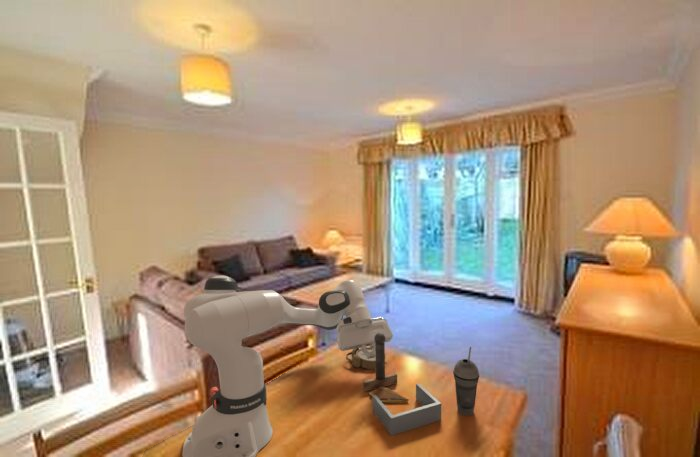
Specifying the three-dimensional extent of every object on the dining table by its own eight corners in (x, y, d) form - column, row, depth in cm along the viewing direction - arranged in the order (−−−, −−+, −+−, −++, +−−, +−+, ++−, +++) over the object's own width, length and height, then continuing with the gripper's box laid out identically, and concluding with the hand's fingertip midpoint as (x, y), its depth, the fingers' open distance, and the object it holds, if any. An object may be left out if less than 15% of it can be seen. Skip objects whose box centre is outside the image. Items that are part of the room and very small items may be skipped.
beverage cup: (460, 400, 111) (461, 338, 108) (483, 410, 105) (484, 345, 103) (448, 411, 106) (448, 346, 103) (471, 422, 100) (472, 354, 98)
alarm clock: (388, 361, 130) (347, 356, 130) (385, 374, 131) (345, 369, 130) (384, 348, 142) (346, 342, 141) (382, 359, 142) (345, 354, 141)
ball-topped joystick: (366, 393, 115) (365, 338, 113) (361, 387, 118) (360, 334, 116) (399, 384, 119) (398, 332, 117) (393, 379, 123) (393, 328, 121)
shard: (409, 404, 110) (409, 398, 110) (392, 414, 105) (392, 409, 105) (383, 389, 118) (383, 384, 118) (366, 398, 113) (366, 393, 113)
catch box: (391, 435, 96) (391, 418, 95) (372, 411, 106) (372, 395, 106) (441, 419, 102) (441, 403, 101) (418, 398, 112) (418, 383, 112)
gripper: (382, 320, 138) (395, 355, 130) (332, 329, 130) (342, 366, 122) (387, 312, 133) (401, 348, 125) (336, 321, 126) (346, 360, 118)
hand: (371, 357), depth 124 cm, fingers closed
